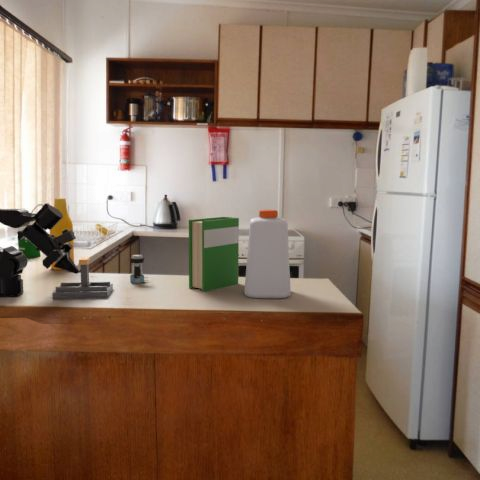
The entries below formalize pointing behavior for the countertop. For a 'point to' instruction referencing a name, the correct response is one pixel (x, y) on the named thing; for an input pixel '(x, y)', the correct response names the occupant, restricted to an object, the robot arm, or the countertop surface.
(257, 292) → the plastic bottle
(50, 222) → the robot arm
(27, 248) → the milk carton
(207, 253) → the hardback book
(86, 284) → the lever
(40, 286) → the countertop surface
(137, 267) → the push button
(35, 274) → the countertop surface
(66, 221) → the beer bottle
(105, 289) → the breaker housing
